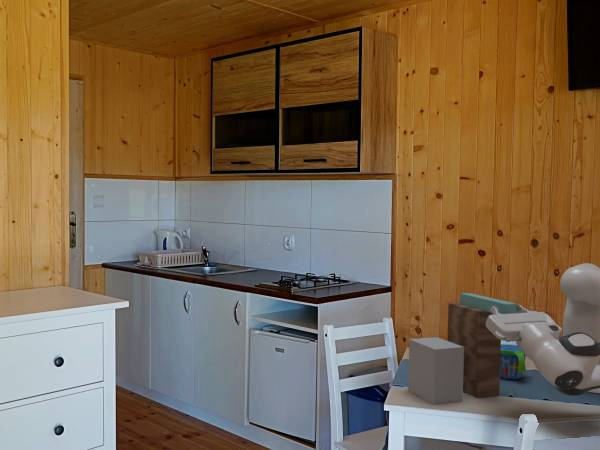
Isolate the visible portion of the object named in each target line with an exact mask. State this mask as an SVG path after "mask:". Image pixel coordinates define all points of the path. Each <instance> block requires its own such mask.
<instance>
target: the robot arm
mask: <svg viewBox="0 0 600 450" xmlns="http://www.w3.org/2000/svg"><path fill="white" fill-rule="evenodd" d="M559 285H560V290H561V292H562V293H563V294H564V295H565V296H566V301H565V302H566V303H565V307H564V308H565V309H564V312H563V321H562V327H561V326H559V325H558V324H557V323H556V322H555V320H554V319H553V318H552V317H551V316H550V315H549V314H548V313H546V312H544V311H535V312H531V310H529V309H527V308H525V307H523V306H522V304H517V306H516V313H514V314H500V313H498V311H499V308H498V307H497V306H492V307H491V309H490V311H491V312H492V313H493V315H489V317H488V319H487V321H486V327H487V328H488V330H489V331H490V332H491V333H492V334H493V335H494V336H496V337H497V338H498V339H500V340H501V342H502V341H503V342H504V341H505V342H506V343H510V342H515V345H518V347H519V348H520V349H521V350H522V351H523V353H524V354H525V355H526V358H528V359H529V360H530V361H532V362H533V363H534V366H535V368H536V369H537V370H538V372H539V373H540V374H541V375H542V376H543V377H544V379H546V381H548V382H549V383H550V384H551V385H552V386H553V387H554V389H556V390H557V392H559V393H561V394H563V395H565V396H572V397H576V396H581V395H584V394H586V393H587V392H588V393H594V394H600V267H598V266H597V265H595V264H593V263H587V262H586V263H581V264H577V265H575V266H571V267H569V268H567V269H566V270H565V271H564V272H563V273H562V275H561V278H560V281H559ZM561 333H562V336H561V337H560V335H561Z"/></svg>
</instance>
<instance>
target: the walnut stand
mask: <svg viewBox="0 0 600 450" xmlns="http://www.w3.org/2000/svg"><path fill="white" fill-rule="evenodd" d="M447 314H448V315H447V340H446V341H449V342H452V343H454V344H457V345H460V346H463V347H464V369H463V393H466V394H468V395H469V396H472V397H474V398H477V399H479V398H481V399H482V398H489V397H498V396H500V387H501V386H500V384H501V383H500V381H501V377H500V354H501V342H502V340H500V339H498V338H497V337H496V336H494V335H493V334H492V333H491V332H490V331H489V330H488V328H487V327H486V321H487V319H488V317H489V315H493V313H491V312H487V311H483V310H479V309H475V308H472V307H468V306H464V305H460V302H449V303H448V310H447Z"/></svg>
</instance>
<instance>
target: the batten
mask: <svg viewBox="0 0 600 450" xmlns="http://www.w3.org/2000/svg"><path fill="white" fill-rule="evenodd" d="M459 303H460V305H464V306H468V307H472V308H475V309H479V310H483V311H487V312H491V311H490V309H491V307H492V306H497V307H498V308H499V311H498V313H500V314H514V313H517V312H516V306H517V305H518V304H517V303H514V302H510V301H505V300H501V299H497V298H493V297H488V296H484V295H479V294H475V293H470V292H469V293H468V292H463V293H460V294H459ZM491 313H492V312H491Z"/></svg>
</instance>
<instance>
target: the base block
mask: <svg viewBox="0 0 600 450" xmlns="http://www.w3.org/2000/svg"><path fill="white" fill-rule="evenodd" d="M408 340H409V343H408V381H407V382H408V383H407V385H408V386H407V391H408V392H410V393H412V394H413V395H416V397H419V398H421V399H423V400H424V401H426V402H429V403H430V404H432V405H441V404H448V403H449V404H450V403H457V402H463V401H464V391H463V369H464V347H463V346H460V345H457V344H454V343H452V342H449V341H447V340H445V339H443V338H441V337H437V336H436V337H435V336H433V337H421V338H409V339H408Z"/></svg>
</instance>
